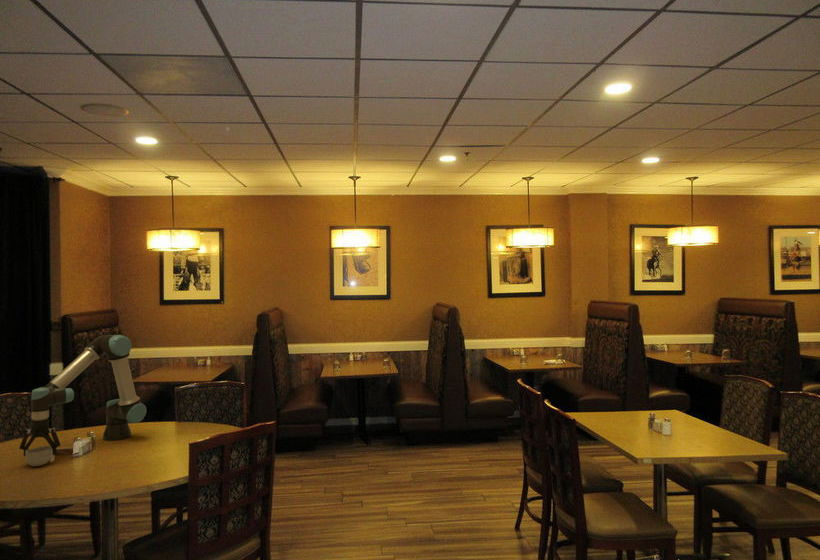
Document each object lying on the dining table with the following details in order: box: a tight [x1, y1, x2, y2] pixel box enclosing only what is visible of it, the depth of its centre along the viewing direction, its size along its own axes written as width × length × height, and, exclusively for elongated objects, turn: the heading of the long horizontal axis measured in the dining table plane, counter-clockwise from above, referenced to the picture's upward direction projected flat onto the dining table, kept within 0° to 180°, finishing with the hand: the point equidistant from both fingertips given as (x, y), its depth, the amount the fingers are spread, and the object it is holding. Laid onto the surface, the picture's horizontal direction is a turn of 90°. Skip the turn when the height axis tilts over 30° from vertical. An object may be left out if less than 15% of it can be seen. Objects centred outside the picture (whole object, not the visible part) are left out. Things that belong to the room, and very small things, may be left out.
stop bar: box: [51, 446, 74, 456], centre depth 293 cm, size 22×3×3 cm, turn 99°
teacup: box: [25, 445, 52, 467], centre depth 276 cm, size 14×11×8 cm
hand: (40, 461), depth 276 cm, fingers closed on teacup, 11 cm apart
